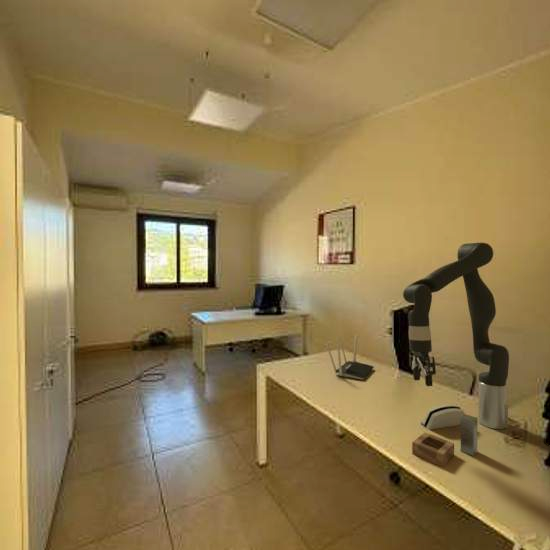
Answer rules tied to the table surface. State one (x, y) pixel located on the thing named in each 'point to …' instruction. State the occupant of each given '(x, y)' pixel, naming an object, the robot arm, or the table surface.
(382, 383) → the table surface
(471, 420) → the square bit
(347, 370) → the wireless router
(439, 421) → the white rounded block
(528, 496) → the table surface
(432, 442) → the socket block
